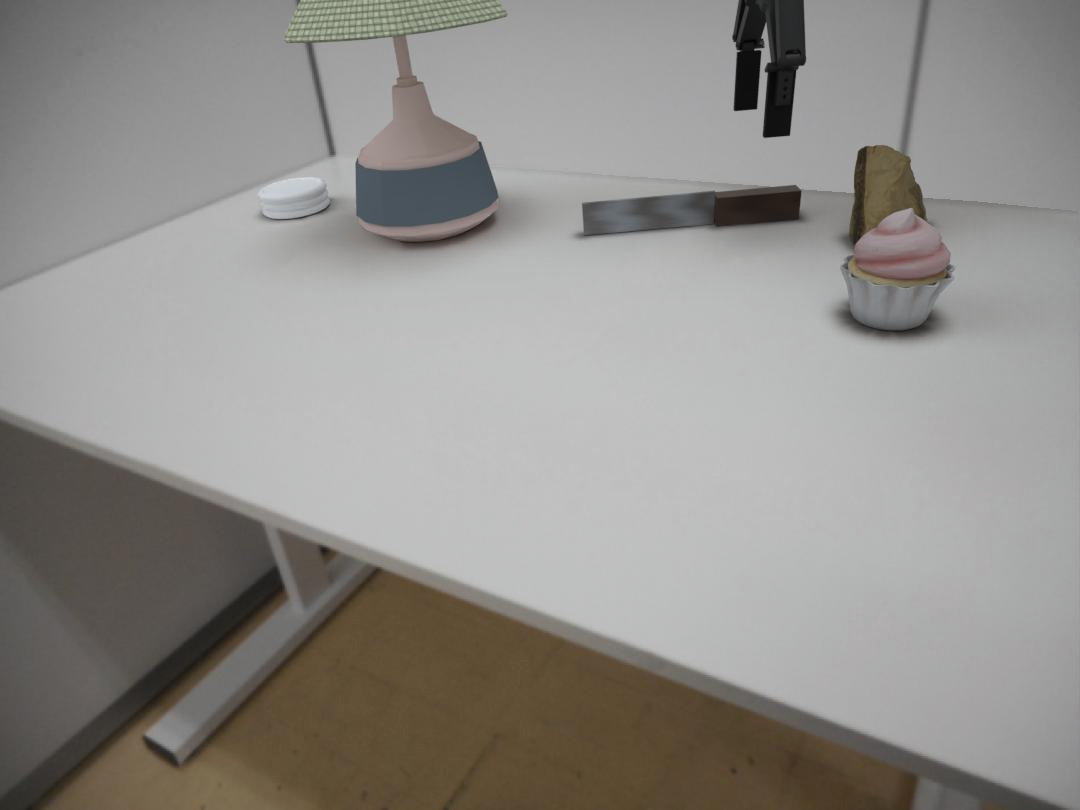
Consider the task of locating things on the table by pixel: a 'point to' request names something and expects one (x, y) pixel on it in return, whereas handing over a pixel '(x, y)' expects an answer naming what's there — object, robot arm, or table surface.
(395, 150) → the desk lamp
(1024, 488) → the table surface
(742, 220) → the knife
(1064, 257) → the table surface
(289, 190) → the white layered round disc
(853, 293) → the cupcake
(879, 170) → the rock
